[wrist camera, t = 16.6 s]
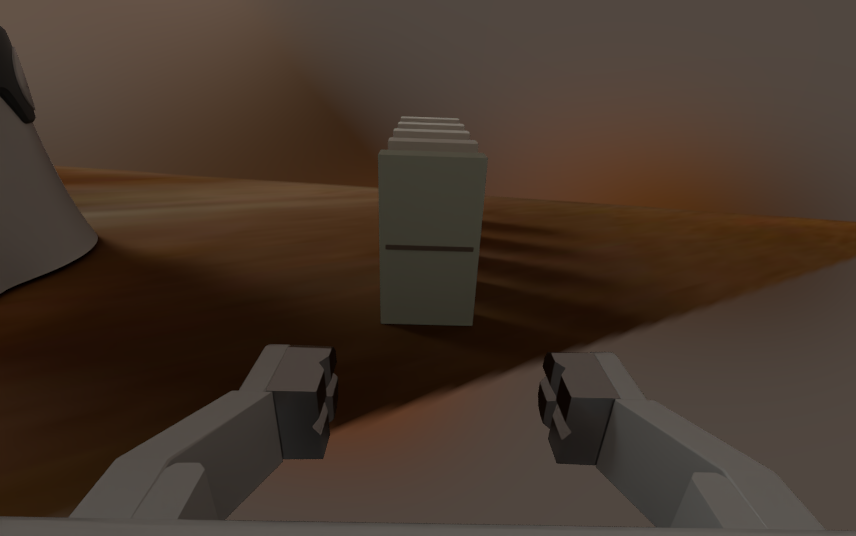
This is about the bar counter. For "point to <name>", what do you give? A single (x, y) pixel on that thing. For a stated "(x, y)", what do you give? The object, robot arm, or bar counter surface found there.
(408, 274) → the domino
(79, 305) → the bar counter surface
